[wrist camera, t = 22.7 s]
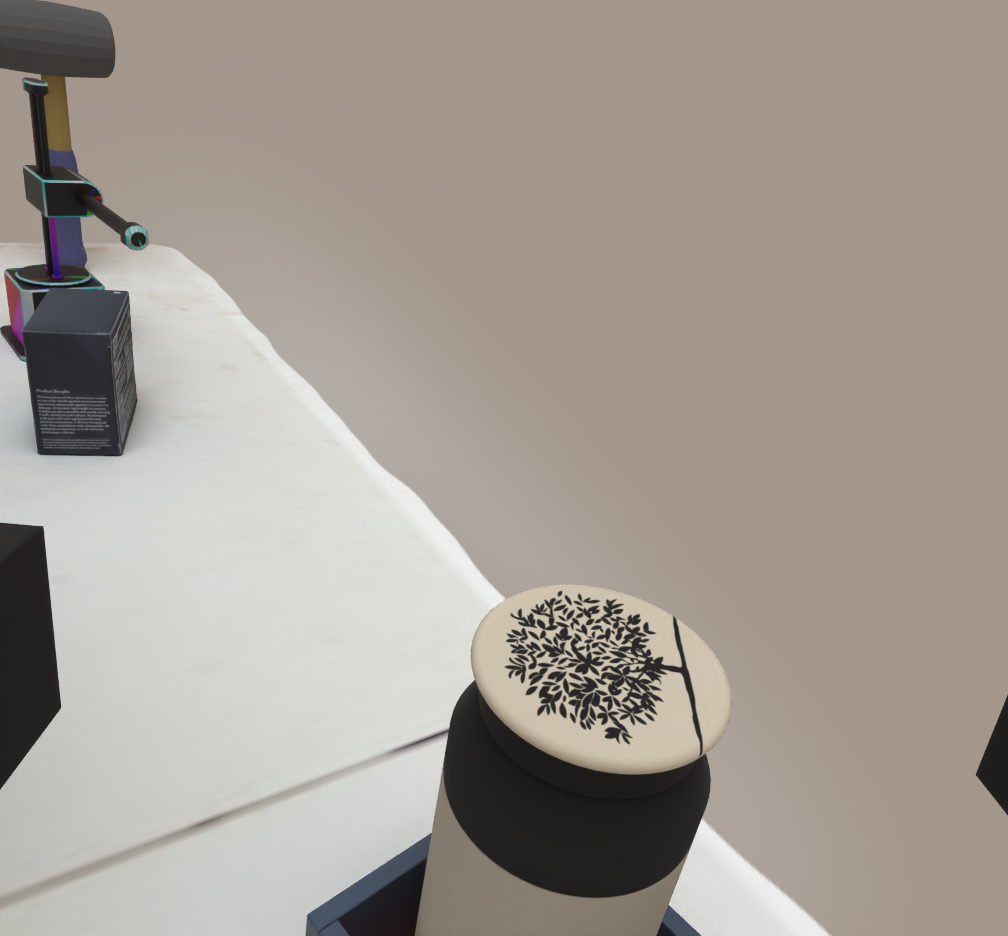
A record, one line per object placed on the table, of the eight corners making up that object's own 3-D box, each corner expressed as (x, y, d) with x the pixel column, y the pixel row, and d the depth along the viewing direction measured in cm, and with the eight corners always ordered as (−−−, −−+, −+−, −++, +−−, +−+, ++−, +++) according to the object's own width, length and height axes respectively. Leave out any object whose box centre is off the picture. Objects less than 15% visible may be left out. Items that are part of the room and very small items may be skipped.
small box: (58, 399, 73) (46, 283, 68) (138, 401, 75) (132, 289, 70) (32, 455, 64) (16, 326, 59) (123, 456, 66) (115, 332, 61)
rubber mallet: (22, 282, 97) (-12, -6, 84) (6, 264, 102) (-28, -12, 88) (131, 277, 105) (117, 13, 91) (112, 260, 110) (96, 7, 96)
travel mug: (372, 1103, 28) (430, 722, 20) (433, 898, 36) (495, 554, 27) (597, 1175, 28) (753, 808, 19) (614, 951, 35) (734, 612, 26)
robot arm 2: (-9, 320, 86) (-44, 63, 75) (85, 313, 92) (65, 74, 80) (62, 415, 70) (30, 108, 59) (169, 400, 76) (159, 117, 65)
